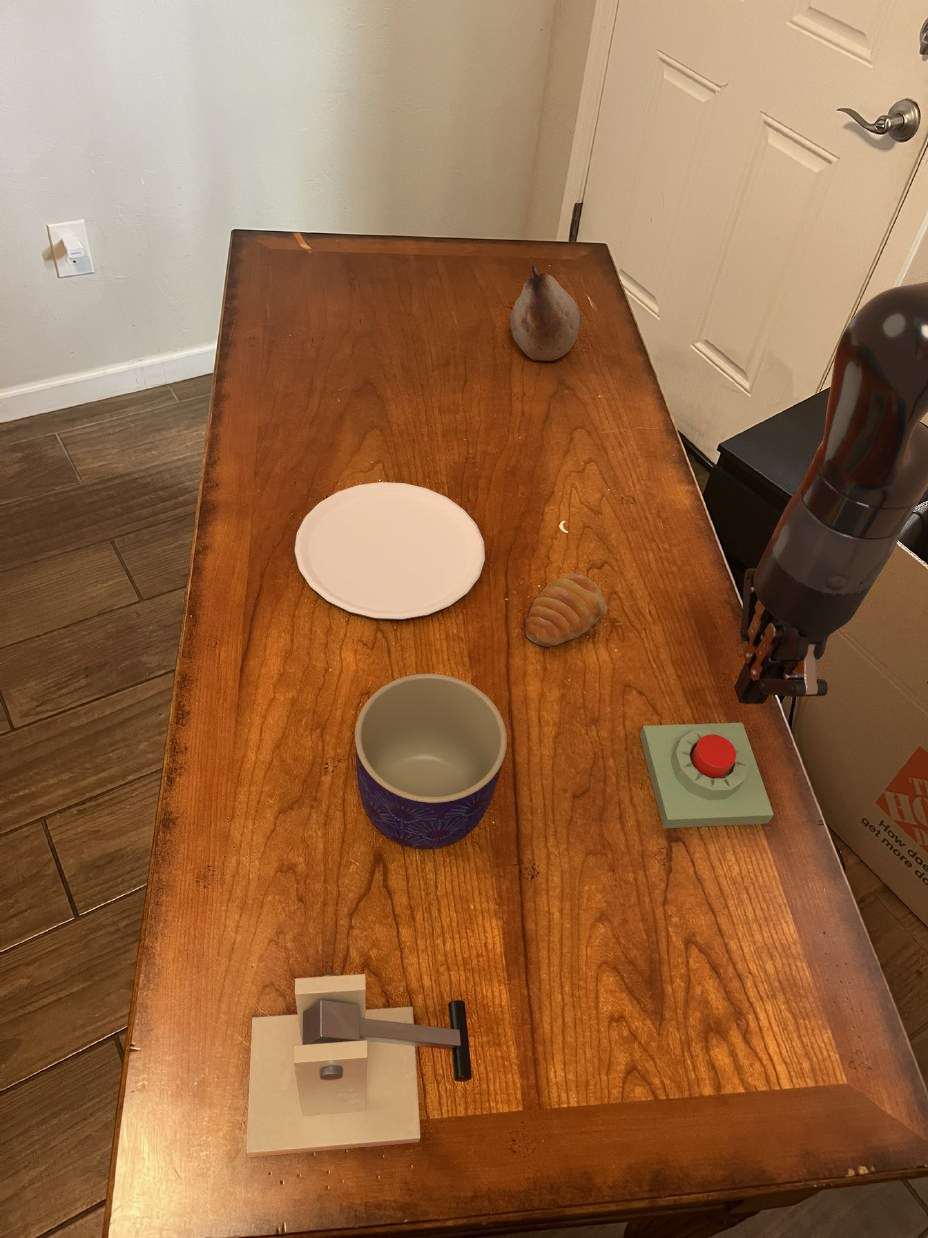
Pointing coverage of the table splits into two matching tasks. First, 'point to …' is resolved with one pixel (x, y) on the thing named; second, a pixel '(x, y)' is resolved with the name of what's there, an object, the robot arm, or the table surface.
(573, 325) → the fruit
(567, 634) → the pastry
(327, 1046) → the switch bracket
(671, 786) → the button block
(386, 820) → the planter
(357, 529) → the plate
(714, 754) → the button
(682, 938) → the table surface
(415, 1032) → the lever
